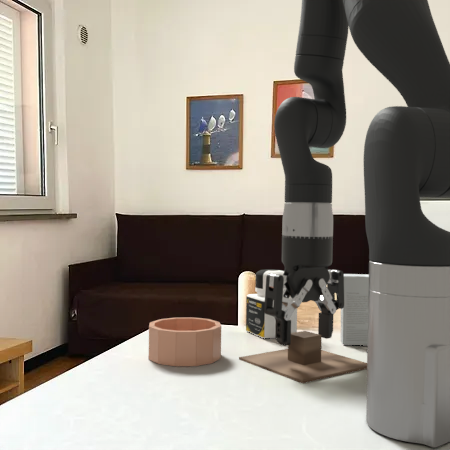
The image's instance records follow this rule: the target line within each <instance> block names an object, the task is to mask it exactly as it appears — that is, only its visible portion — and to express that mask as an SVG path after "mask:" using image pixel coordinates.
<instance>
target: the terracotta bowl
mask: <svg viewBox="0 0 450 450" xmlns="http://www.w3.org/2000/svg"><path fill="white" fill-rule="evenodd" d="M221 359H222V324H221V323H220V321H217V320H213V319H211V318H202V317H193V316H192V317H191V316H190V317H169V318H167V317H166V318H161V319H160V318H159V319H157V320H153V321H150V322H149V325H148V361H149V360H150V361H151V362H153V363H156V364H159V365H164V366H172V367H198V366H204V365H209V364H210V365H211V364H214V363H215V362H217V361H219V360H221Z"/></svg>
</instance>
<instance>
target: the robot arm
mask: <svg viewBox="0 0 450 450" xmlns="http://www.w3.org/2000/svg"><path fill="white" fill-rule="evenodd" d="M299 21H300V22H299V27H298V35H297V42H296V47H295V48H296V50H295V57H294V63H293V64H294V65H293V72H294V75H295V76H296V77H297V78H298V79H299V80H301V81H304V82H305V83H308V84H309V85H310V86H311V88H312V92H313V97H314V98H308V97H301V96H291V97H288V98H286V99H284V100H283V101H282V102H281V103H280V105H278V108H277V110H276V112H275V117H274V121H273V122H274V125H273V126H274V134H275V136H274V137H275V140H276V144H277V147H278V150H279V151H278V152H279V156H280V161H281V165H282V168H283V169H282V170H283V173H284V203H283V204H284V205H283V213H282V220H281V221H282V222H281V223H282V227H281V228H282V231H281V232H282V233H281V235H282V236H281V263H282V264H283V266H284V270H283V271H284V273H283V275H277V274H270V273H269V274H268V275H267V277H266V291H265V306H264V313H265V314H267V315H270V316H273V317H274V318H275V320H276V328H275V330H276V331H275V338H274V339H275V340H276V342H277V344H279V345H281V346H284V347H288V345H290V344H291V320H289V319H290V318H291V316H292V314H293V312H294V310H295V309H296V308H297V309H298V308H300V306H301V304H302V303H308V302H310V301H313V302H314V303H315V305H316V306H317V307H318V309H319V312H318V326H317V327H318V329H317V330H318V332H317V334H319V335H321V339H322V338H323V339H326V340H327V339H331V338H332V335H333V332H334V316H335V313H336V312H337V310H341V309H342V308H343V307H344V274H345V273H344V271H343V270H339V269H330V268H329V267H330V266H331V265H332V263H333V250H334V249H333V246H334V245H333V243H334V241H333V240H334V239H333V238H334V213H333V171H332V168H331V167H329V166H328V165H327V164H325V163H323V162H320V161H317V160H316V159H315V158H314V157H313V155H312V152H311V148H317V149H328V148H332V147H334V146H336V145H337V143H338V142H339V141H340V140H341V138H342V137H343V135H344V132H345V128H346V125H347V106H346V104H347V103H346V96H345V95H346V94H345V85H344V84H345V83H344V76H343V69H344V61H345V56H346V50H347V49H346V48H347V43H348V37H349V33H350V36H351V37H352V41H353V42H354V44H355V46H356V47H357V49H358V50H359V51H360V53H361V54H362V55H363V56H364V58H365V59H366V60H367V61H368V62H369V63H370V64H371V66H373V67H374V68H375V69H376V70H377V71H378V73H380V74H381V75H383V77H384V78H385V79H386V80H387V81H388V83H390V84H391V85H392V86H393V87H394V88H395V89H396V90H397V92H398V93H399V94H400V95H401V96H402V99H403V100H404V102H405V104H406V106H405V105H404V106H402V105H400V106H399V105H397V106H396V105H395V106H393V105H392V106H387V107H385V108H383V109H381V110H379V111H378V112H377V113H376V114H375V115H374V117H373V118H372V119H371V121H370V123H369V126H368V128H367V131H366V135H365V139H364V147H363V186H364V217H365V219H364V220H365V224H364V225H365V233H366V237H367V243H368V249H369V250H368V251H369V254H368V259H369V262H368V274H369V291H368V344H367V346H366V347H367V349H366V350H367V351H366V352H367V353H366V354H367V355H366V357H367V358H366V363H367V369H366V412H365V413H366V415H365V419H366V420H365V421H366V424H367V425H368V427H369V428H370V429H372V430H373V431H375V432H376V433H378V434H380V435H382V436H385V437H387V438H391V439H394V440H398V441H403V442H408V443H415V444H421V445H426V446H428V447H430V448H438V447H440V446H443V445H445V444H447V443H450V231H448V230H446V229H443V228H442V227H439V226H438V225H436V224H435V223H433V222H432V221H431V220H430V219H428V217H427V216H426V215H425V213H423V209H422V206H421V199H420V198H450V60H449V58H448V56H447V54H446V51H445V48H444V45H443V42H442V40H441V38H440V37H441V36H440V35H439V32H438V28H437V25H436V23H435V20H434V17H433V15H432V12H431V8H430V5H429V1H428V0H301V11H300V20H299ZM283 288H284V290H283ZM335 295H336V296H335ZM290 296H291V298H292V299H290V298H289V297H290ZM273 300H274V306H273ZM285 308H286V309H285ZM284 310H285V311H284Z"/></svg>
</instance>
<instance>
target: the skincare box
mask: <svg viewBox="0 0 450 450" xmlns="http://www.w3.org/2000/svg"><path fill="white" fill-rule="evenodd" d="M368 291H369V273H368V274H366V273H365V274H363V273H361V274H360V273H359V274H358V273H344V307H343V308H342V309H340V341H341V344H342V345H343V344H344V345H343V346H352V345H360V347H363V346H364V347H367V344H368ZM361 345H363V346H361Z"/></svg>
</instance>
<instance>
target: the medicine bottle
mask: <svg viewBox="0 0 450 450" xmlns="http://www.w3.org/2000/svg"><path fill="white" fill-rule="evenodd" d="M269 273H270V274H277V275H283V273H284V270H282V269H270V268H269V269H260V270H258V271H257V272H256V273H255V288H254V289H255V290H254V291H255V292H256V293H248V294H247V295H245V296H246V301H245V302H246V303H245V304H246V307H245V308H246V309H245V331H246V332H247V331H248V332H247V333H249V332H250V333H249V334H251V333H252V334H251V335H253V334H254V336H256V337H258V336H259V337H258V338H260V337H261V339H263V338H264V339H263V340H266V339H265V338H270V339H276V338H275V331H276V330H275V328H276V320H275V318H274V317H273V316H270V315H267V314H265V313H264V306H265V291H266V277H267V275H268V274H269ZM283 290H284V288H283ZM289 298H290V299H292V298H291V296H290V297H289ZM273 306H274V300H273ZM285 309H286V308H285ZM284 311H285V310H284ZM289 320H291V333H295V332H298V308H296V309H295V310H294V312H293V314H292V316H291V318H290V319H289Z"/></svg>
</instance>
